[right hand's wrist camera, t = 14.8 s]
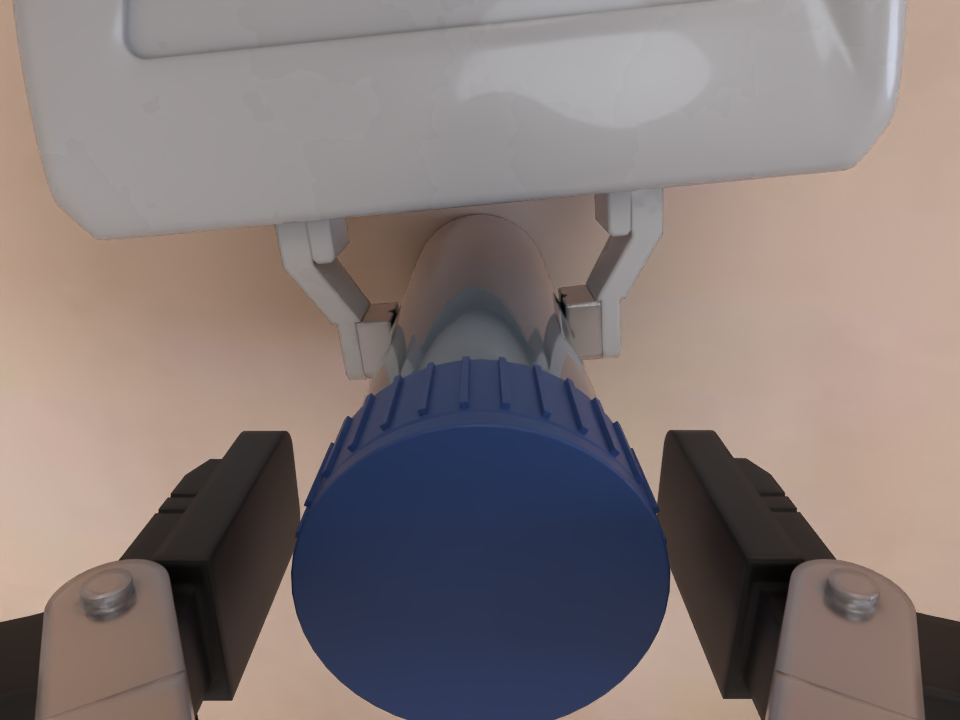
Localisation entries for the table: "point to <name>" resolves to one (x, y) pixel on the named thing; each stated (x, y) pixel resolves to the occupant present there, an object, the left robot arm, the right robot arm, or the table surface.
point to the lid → (480, 548)
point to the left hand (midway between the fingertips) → (484, 362)
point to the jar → (480, 306)
